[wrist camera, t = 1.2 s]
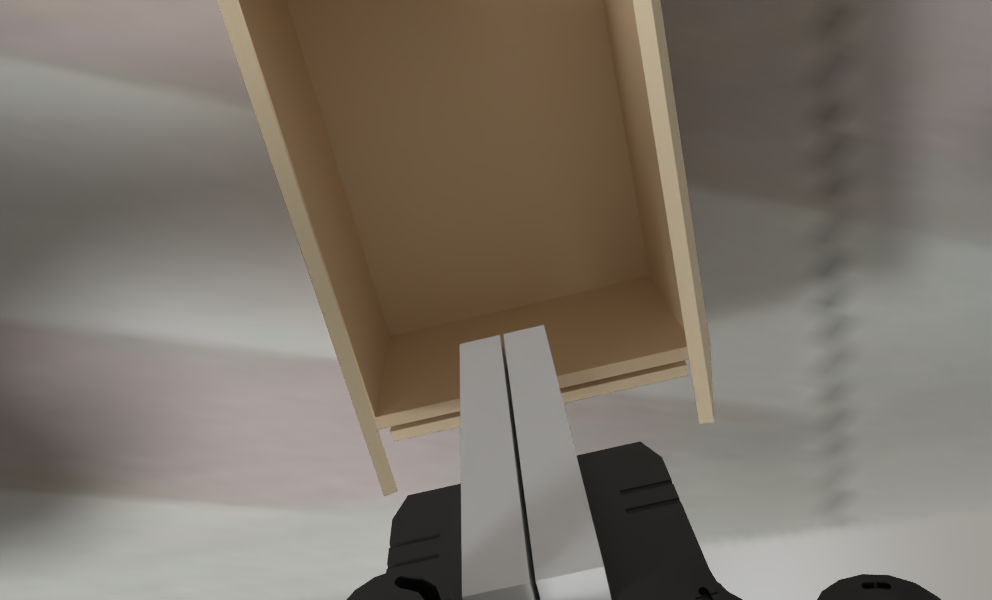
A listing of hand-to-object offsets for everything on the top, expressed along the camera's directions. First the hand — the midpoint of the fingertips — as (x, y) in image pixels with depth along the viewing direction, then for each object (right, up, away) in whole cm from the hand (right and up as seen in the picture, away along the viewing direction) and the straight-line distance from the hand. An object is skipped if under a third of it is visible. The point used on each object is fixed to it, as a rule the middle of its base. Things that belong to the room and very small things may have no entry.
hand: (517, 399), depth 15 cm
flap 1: (-8, +5, +16) cm, 18 cm away
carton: (-1, +10, +24) cm, 26 cm away
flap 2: (+6, +8, +15) cm, 18 cm away
